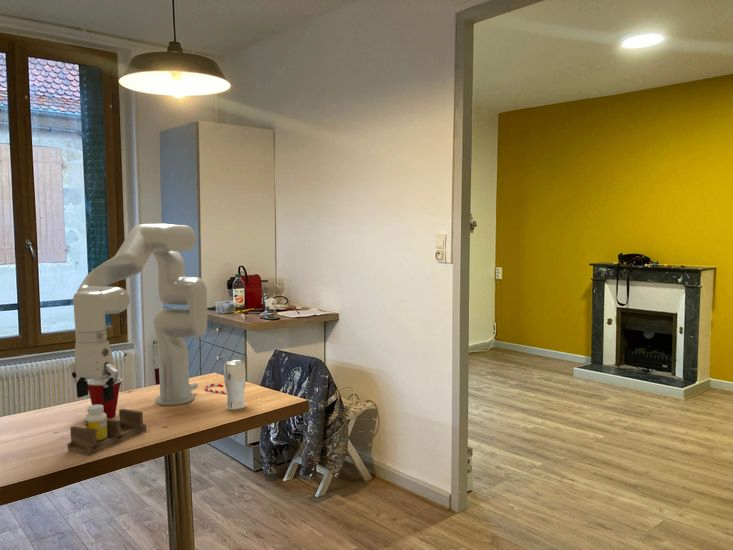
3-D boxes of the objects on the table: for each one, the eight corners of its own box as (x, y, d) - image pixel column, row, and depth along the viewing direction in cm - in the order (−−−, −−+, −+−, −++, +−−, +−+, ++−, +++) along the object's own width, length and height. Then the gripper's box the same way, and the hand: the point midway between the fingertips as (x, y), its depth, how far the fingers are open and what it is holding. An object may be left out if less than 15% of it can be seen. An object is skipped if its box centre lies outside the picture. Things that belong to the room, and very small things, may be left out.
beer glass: (239, 411, 191) (238, 365, 190) (220, 409, 193) (219, 364, 192) (250, 405, 197) (249, 360, 196) (232, 403, 200) (230, 359, 198)
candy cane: (222, 394, 208) (198, 386, 218) (222, 397, 208) (198, 390, 218) (240, 389, 213) (216, 382, 223) (240, 392, 213) (216, 385, 223)
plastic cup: (131, 412, 191) (129, 375, 190) (111, 423, 181) (109, 384, 180) (100, 410, 193) (99, 374, 192) (79, 421, 183) (77, 383, 182)
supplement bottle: (81, 443, 161) (79, 408, 160) (97, 436, 166) (95, 402, 165) (96, 446, 159) (94, 410, 158) (112, 439, 164) (110, 404, 163)
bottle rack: (126, 427, 177) (125, 407, 176) (146, 431, 173) (145, 410, 173) (67, 451, 158) (66, 428, 158) (89, 456, 155) (87, 433, 155)
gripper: (126, 336, 159) (129, 398, 161) (80, 331, 167) (84, 390, 169) (103, 342, 153) (107, 406, 155) (56, 337, 160) (61, 398, 162)
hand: (95, 398), depth 162 cm, fingers open, 9 cm apart
